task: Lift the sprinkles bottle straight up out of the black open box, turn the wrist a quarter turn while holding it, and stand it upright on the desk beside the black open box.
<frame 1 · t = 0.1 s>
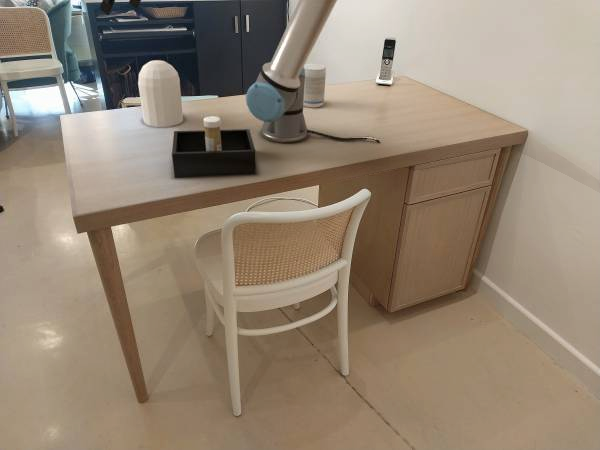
hand: (119, 8, 131), 36 cm above the table, tool tilted 35°, fingers open, 13 cm apart
black open box: (214, 163, 130), on the table
sprinkles bottle: (214, 163, 130), resting in black open box
container: (163, 120, 156), on the table
supplement tub: (311, 104, 179), on the table
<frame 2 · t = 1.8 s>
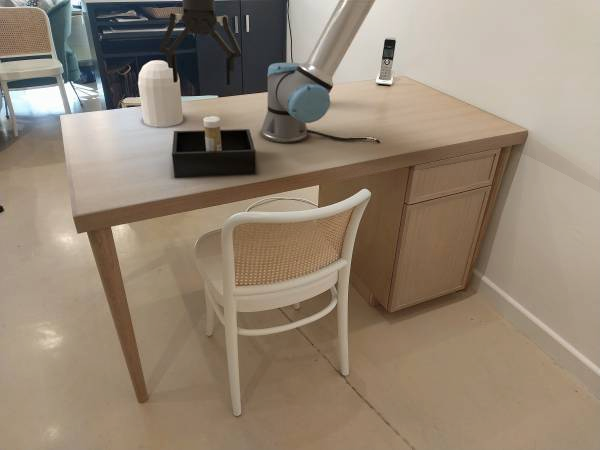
hand: (202, 82, 118), 23 cm above the table, tool pointing down, fingers open, 13 cm apart
nothing on the table moved.
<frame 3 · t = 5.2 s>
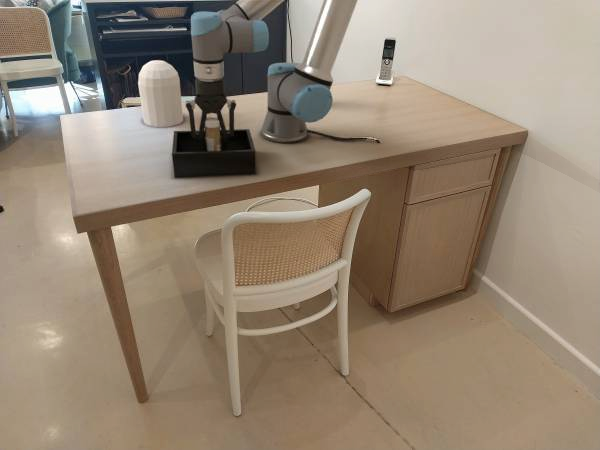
hand: (214, 159, 130), 1 cm above the table, tool pointing down, fingers closed on sprinkles bottle, 4 cm apart
sprinkles bottle: (214, 163, 130), resting in black open box, touching gripper
everything else where it was.
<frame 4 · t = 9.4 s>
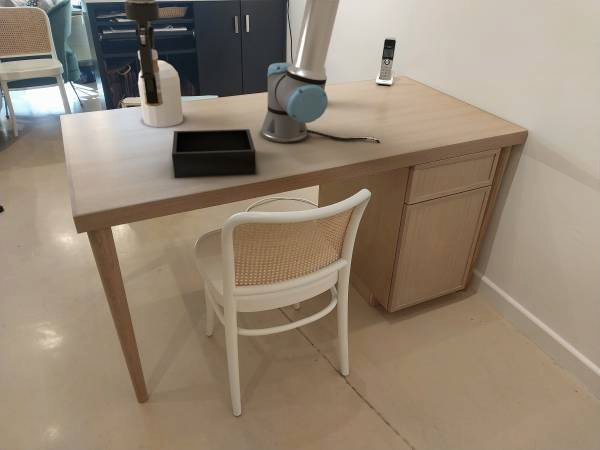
hand: (153, 99, 117), 19 cm above the table, tool pointing down, fingers closed on sprinkles bottle, 4 cm apart
sprinkles bottle: (154, 104, 118), point 18 cm above the table, touching gripper
everything else where it was.
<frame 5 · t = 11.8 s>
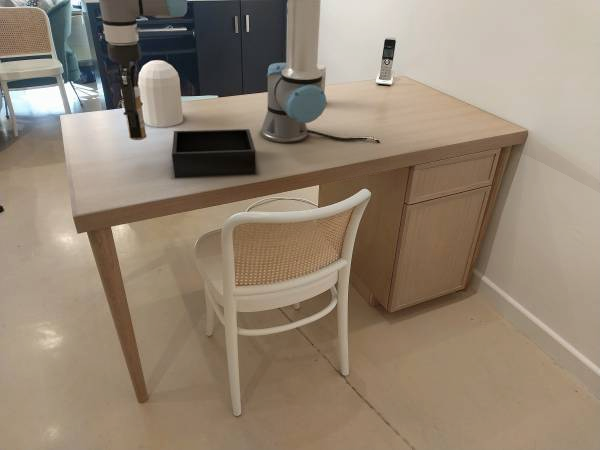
hand: (137, 133, 121), 10 cm above the table, tool pointing down, fingers closed on sprinkles bottle, 4 cm apart
sprinkles bottle: (138, 138, 122), point 8 cm above the table, touching gripper
everything else where it was.
when the fingers open (1 cm above the table, at t = 14.0 s): sprinkles bottle stays where it is, on the table.
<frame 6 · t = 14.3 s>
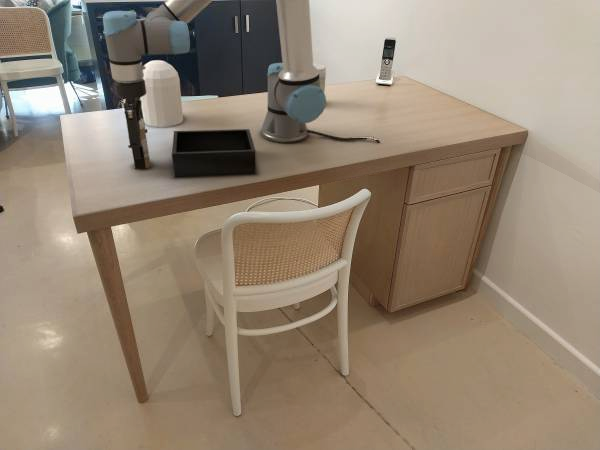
hand: (141, 161, 126), 1 cm above the table, tool pointing down, fingers open, 7 cm apart
sprinkles bottle: (142, 166, 126), on the table
everything else where it was.
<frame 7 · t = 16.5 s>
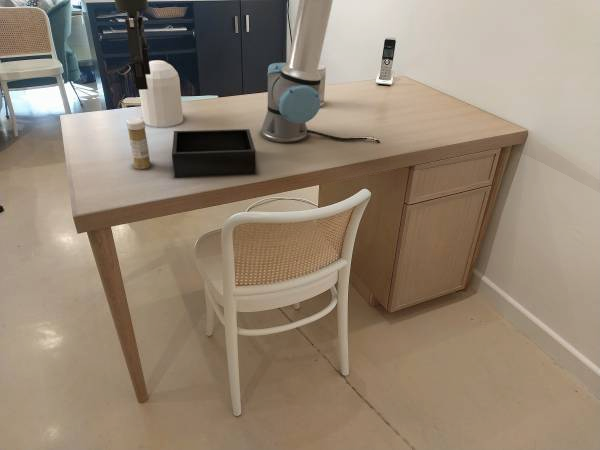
hand: (143, 81, 119), 22 cm above the table, tool pointing down, fingers open, 13 cm apart
nothing on the table moved.
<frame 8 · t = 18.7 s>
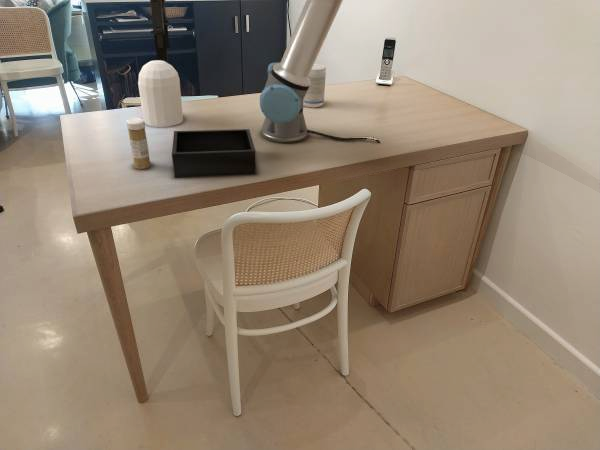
hand: (163, 53, 126), 27 cm above the table, tool pointing down, fingers open, 13 cm apart
nothing on the table moved.
at the end: sprinkles bottle inside the target area (0.0 cm from its centre), on the table; sprinkles bottle tilted 0°; sprinkles bottle touching table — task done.
